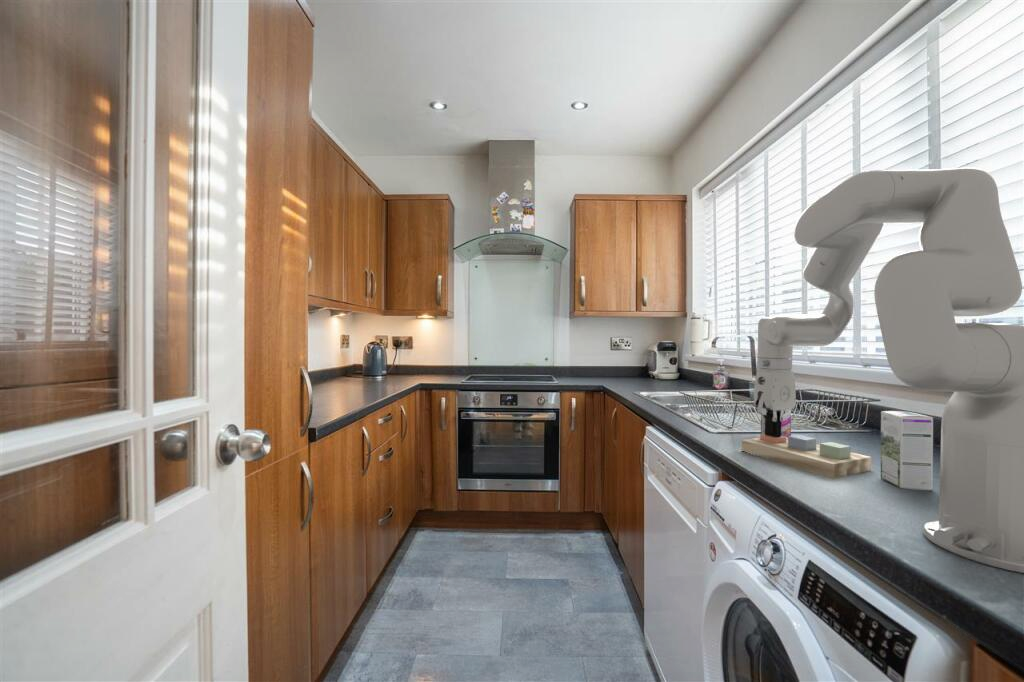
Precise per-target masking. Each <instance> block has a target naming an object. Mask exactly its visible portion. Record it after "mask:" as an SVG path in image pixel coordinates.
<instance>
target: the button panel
mask: <svg viewBox="0 0 1024 682" xmlns="http://www.w3.org/2000/svg"><path fill="white" fill-rule="evenodd" d="M742 451H745V452H748V453H747V454H749V453H752V454H755V455H754V456H756V455H758V456H757V457H759V456H761V457H760V458H762V457H764V459H766V458H768V459H767V460H769V459H770V461H773V462H775V463H779V462H780V464H784V465H787V466H790V467H793V468H796V467H797V468H796V469H800V470H804V471H806V472H811V473H813V474H814V473H815V474H818V475H821V476H824V477H827V478H831V479H836V478H841V477H846V476H850V475H856V474H861V473H865V472H870V471H872V463H873V461H872V458H873V457H872V456H869V455H863V454H860V453H856V452H852V451H851V458H849V459H844V460H838V459H834V458H830V457H826V456H823V455H820V444H818V443H816V450H811V451H803V450H799V449H795V448H791V447H788V438H787V437H786V442H785V443H778V444H775V443H771V442H767V441H763V440H760V437H754V438H746V439H741V452H742ZM745 452H744V453H745ZM752 454H751V455H752Z"/></svg>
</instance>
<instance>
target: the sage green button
mask: <svg viewBox="0 0 1024 682" xmlns="http://www.w3.org/2000/svg"><path fill="white" fill-rule="evenodd" d="M819 445H820V455H823V456H826V457H830V458H834V459H838V460H844V459H849V458H851V452H852V450H851V448H852V446H850V445H846V444H841V443H838V442H833V441H827V442H821V443H819Z"/></svg>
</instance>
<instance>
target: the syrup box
mask: <svg viewBox="0 0 1024 682" xmlns="http://www.w3.org/2000/svg"><path fill="white" fill-rule="evenodd" d="M933 451H934V417H932V416H929V415H925V414H920V413H915V412H912V411H903V410H883V411H882V410H881V411H880V479H881V480H884V481H886V482H888V483H890V484H892V485H894V486H896V487H898V488H900V489H906V490H918V491H920V490H921V491H933V488H934V485H933V484H934V481H933V478H934V471H933V470H934V456H933V455H934V452H933Z"/></svg>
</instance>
